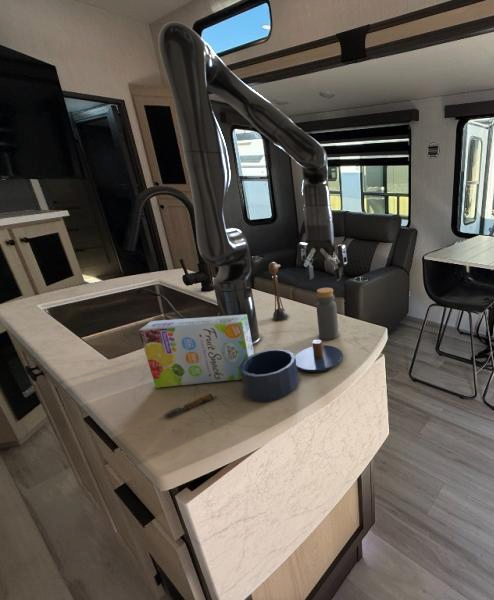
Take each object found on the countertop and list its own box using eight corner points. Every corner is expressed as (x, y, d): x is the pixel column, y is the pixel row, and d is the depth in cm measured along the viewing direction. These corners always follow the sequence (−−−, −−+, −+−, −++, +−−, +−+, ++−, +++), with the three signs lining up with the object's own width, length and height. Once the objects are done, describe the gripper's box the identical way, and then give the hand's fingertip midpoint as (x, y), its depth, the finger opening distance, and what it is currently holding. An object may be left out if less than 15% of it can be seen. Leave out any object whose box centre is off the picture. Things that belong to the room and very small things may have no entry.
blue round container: (233, 397, 70) (227, 371, 68) (266, 369, 81) (262, 346, 78) (278, 405, 67) (274, 379, 65) (307, 375, 78) (304, 352, 76)
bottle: (334, 341, 95) (330, 293, 90) (316, 339, 96) (311, 292, 91) (341, 332, 100) (338, 287, 95) (324, 331, 102) (320, 286, 96)
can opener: (212, 396, 70) (211, 392, 70) (214, 401, 68) (213, 397, 68) (163, 415, 65) (161, 410, 64) (164, 421, 63) (162, 416, 63)
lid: (284, 369, 80) (281, 350, 78) (310, 346, 92) (307, 328, 90) (329, 377, 77) (327, 356, 75) (350, 352, 89) (349, 333, 87)
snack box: (257, 367, 82) (247, 313, 76) (252, 379, 76) (241, 322, 71) (166, 375, 78) (149, 319, 73) (154, 389, 73) (135, 329, 68)
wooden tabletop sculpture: (279, 313, 115) (272, 259, 108) (291, 314, 114) (284, 260, 107) (270, 320, 110) (262, 263, 103) (282, 321, 109) (274, 264, 102)
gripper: (348, 221, 88) (352, 277, 94) (302, 220, 91) (308, 274, 97) (336, 224, 81) (341, 285, 87) (287, 223, 85) (295, 281, 90)
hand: (324, 279), depth 92 cm, fingers open, 8 cm apart
